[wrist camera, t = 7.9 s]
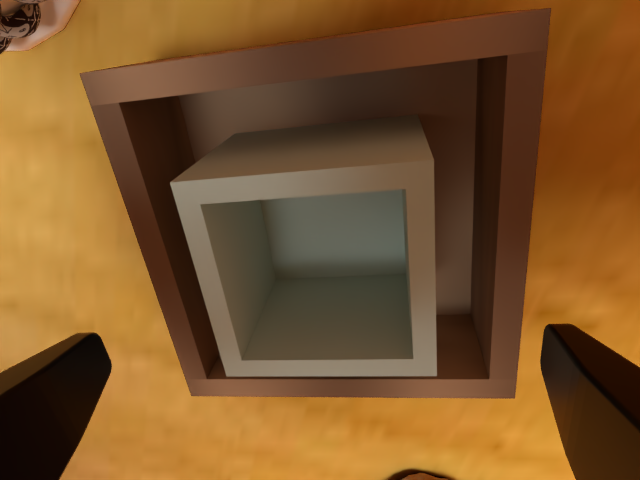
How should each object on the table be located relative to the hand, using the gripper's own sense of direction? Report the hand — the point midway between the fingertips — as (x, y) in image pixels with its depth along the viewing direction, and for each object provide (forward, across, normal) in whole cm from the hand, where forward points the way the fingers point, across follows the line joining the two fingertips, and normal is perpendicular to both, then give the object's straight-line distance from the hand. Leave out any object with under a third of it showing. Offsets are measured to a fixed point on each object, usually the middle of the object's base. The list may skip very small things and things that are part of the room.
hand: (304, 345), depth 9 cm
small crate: (+7, 0, 0) cm, 7 cm away
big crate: (+8, 0, 0) cm, 8 cm away
